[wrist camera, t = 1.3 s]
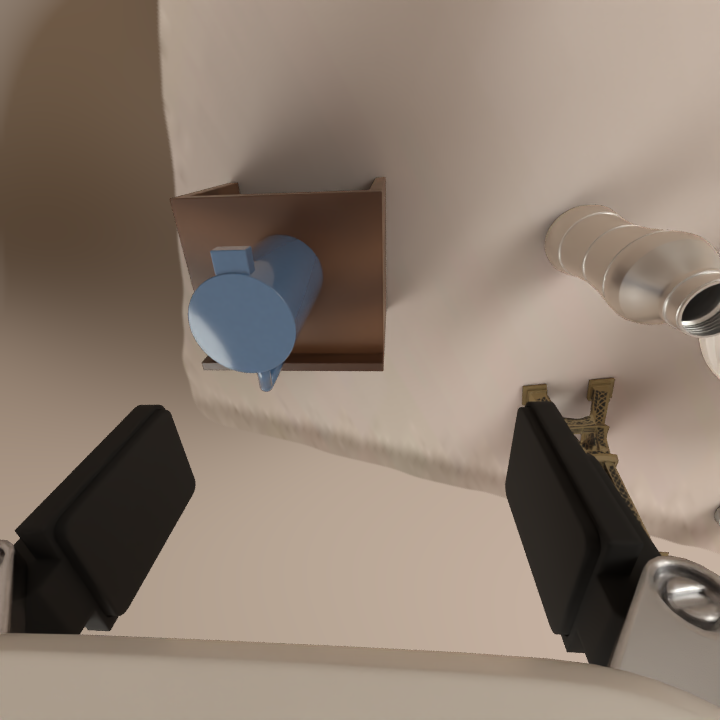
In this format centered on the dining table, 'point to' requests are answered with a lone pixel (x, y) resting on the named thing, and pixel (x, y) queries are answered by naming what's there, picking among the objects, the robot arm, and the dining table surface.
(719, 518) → the travel mug
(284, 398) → the dining table surface
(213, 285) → the jug
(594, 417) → the eiffel tower
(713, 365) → the plate stack
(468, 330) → the dining table surface
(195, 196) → the shelf stand
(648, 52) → the dining table surface
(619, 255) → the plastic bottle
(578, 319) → the dining table surface
